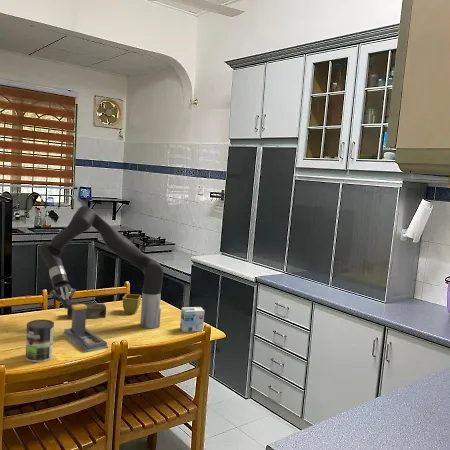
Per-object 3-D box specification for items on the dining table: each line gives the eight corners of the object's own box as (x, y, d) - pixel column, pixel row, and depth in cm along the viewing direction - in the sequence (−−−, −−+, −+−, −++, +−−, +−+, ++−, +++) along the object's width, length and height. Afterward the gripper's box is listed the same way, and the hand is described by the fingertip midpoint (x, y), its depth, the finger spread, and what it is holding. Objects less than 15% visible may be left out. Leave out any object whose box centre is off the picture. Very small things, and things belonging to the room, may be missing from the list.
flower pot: (137, 315, 248) (138, 299, 247) (121, 314, 248) (122, 297, 247) (140, 310, 257) (141, 294, 256) (125, 309, 257) (126, 293, 256)
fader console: (63, 334, 212) (63, 329, 211) (83, 330, 218) (83, 325, 218) (86, 352, 194) (86, 346, 194) (107, 347, 201) (108, 342, 200)
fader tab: (70, 333, 211) (71, 305, 209) (81, 331, 214) (83, 303, 213) (74, 335, 208) (75, 307, 206) (85, 333, 212) (86, 305, 210)
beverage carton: (106, 318, 240) (106, 306, 239) (67, 320, 233) (68, 307, 232) (104, 313, 247) (104, 301, 246) (66, 315, 240) (67, 302, 239)
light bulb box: (183, 332, 227) (184, 311, 226) (179, 327, 234) (180, 307, 232) (203, 331, 231) (205, 310, 230) (199, 326, 238) (200, 306, 236)
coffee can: (40, 364, 179) (41, 329, 178) (19, 358, 183) (20, 324, 181) (58, 355, 189) (59, 322, 187) (38, 350, 192) (39, 317, 191)
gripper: (69, 280, 232) (78, 310, 224) (42, 282, 223) (51, 313, 216) (74, 272, 228) (83, 302, 220) (47, 273, 219) (56, 305, 211)
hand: (67, 307), depth 218 cm, fingers closed
